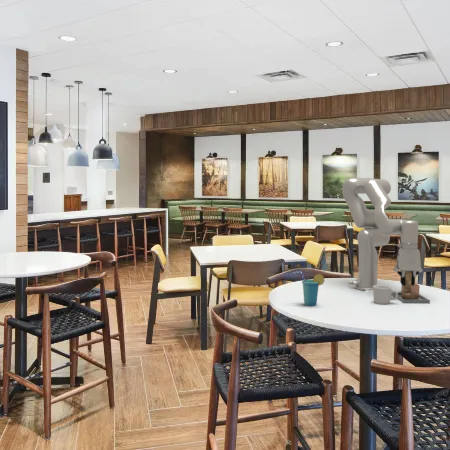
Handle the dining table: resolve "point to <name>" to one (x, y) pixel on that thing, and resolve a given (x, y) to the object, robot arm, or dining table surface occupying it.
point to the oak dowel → (407, 282)
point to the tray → (423, 301)
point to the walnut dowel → (410, 296)
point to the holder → (413, 288)
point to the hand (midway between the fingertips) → (407, 284)
